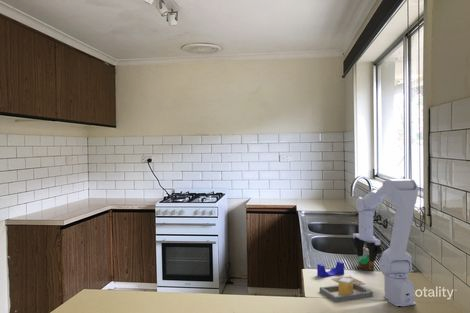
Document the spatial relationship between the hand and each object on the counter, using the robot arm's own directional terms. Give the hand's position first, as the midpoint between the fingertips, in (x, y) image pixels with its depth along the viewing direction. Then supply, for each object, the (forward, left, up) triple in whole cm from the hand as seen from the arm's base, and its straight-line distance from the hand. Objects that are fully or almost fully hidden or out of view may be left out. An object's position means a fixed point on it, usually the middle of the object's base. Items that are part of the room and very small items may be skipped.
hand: (366, 258), depth 142 cm
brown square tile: (0, +10, -9) cm, 13 cm away
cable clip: (+10, +11, -10) cm, 18 cm away
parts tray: (-12, +19, -9) cm, 24 cm away
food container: (+14, -10, -10) cm, 20 cm away
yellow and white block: (-12, +19, -9) cm, 24 cm away
